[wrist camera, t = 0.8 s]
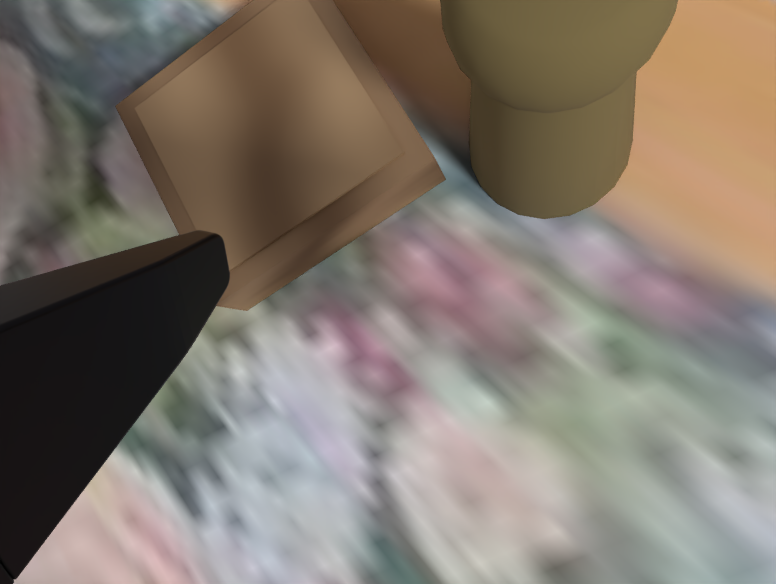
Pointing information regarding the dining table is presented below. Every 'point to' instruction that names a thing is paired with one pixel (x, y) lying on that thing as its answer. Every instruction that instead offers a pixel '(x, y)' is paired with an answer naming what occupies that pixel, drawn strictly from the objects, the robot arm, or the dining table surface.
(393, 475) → the dining table surface
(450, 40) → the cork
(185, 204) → the walnut plinth
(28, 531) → the robot arm
